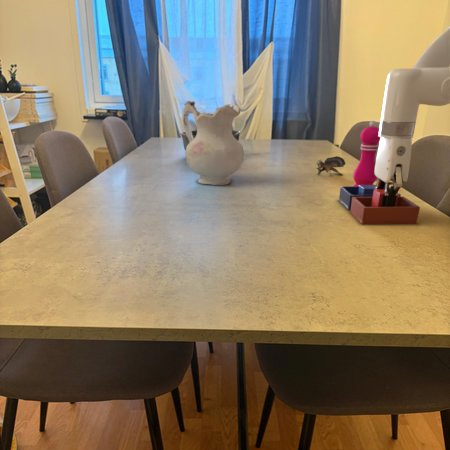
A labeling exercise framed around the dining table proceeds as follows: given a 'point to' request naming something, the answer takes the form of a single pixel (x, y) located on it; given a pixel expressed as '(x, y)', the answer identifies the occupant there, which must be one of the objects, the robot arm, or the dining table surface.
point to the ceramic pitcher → (213, 144)
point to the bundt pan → (194, 133)
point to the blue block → (366, 189)
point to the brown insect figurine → (330, 164)
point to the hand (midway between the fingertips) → (383, 208)
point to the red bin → (384, 211)
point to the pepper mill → (367, 156)
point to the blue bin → (350, 195)
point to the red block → (379, 197)
